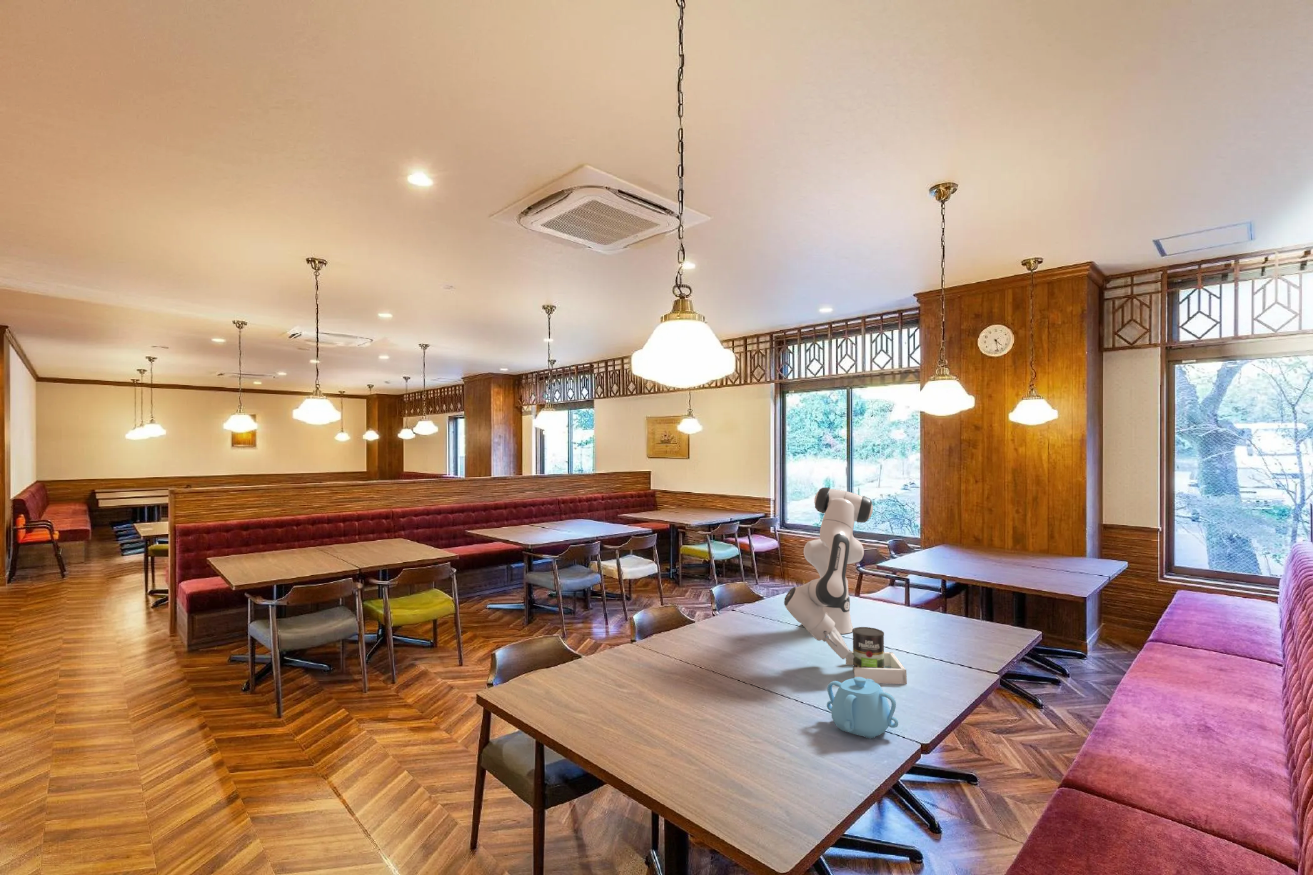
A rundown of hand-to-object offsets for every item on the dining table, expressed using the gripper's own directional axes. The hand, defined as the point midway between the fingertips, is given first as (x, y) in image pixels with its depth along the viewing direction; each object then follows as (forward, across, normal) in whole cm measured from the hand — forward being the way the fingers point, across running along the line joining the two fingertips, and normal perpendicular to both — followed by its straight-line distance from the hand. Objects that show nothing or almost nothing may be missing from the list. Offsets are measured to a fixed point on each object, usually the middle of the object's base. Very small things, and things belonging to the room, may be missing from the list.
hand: (852, 657), depth 197 cm
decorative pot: (0, -42, +8) cm, 42 cm away
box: (+8, 0, -1) cm, 8 cm away
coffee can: (+8, +1, 0) cm, 8 cm away
